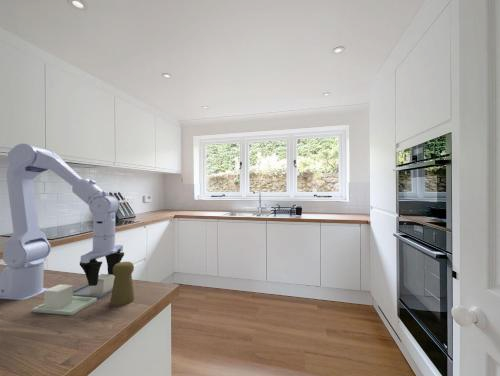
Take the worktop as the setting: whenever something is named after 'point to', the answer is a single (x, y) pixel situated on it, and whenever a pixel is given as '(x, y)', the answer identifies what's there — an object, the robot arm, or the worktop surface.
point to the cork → (122, 284)
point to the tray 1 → (68, 306)
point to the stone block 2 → (103, 284)
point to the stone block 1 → (58, 296)
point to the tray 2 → (88, 292)
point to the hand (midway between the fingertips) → (102, 280)
